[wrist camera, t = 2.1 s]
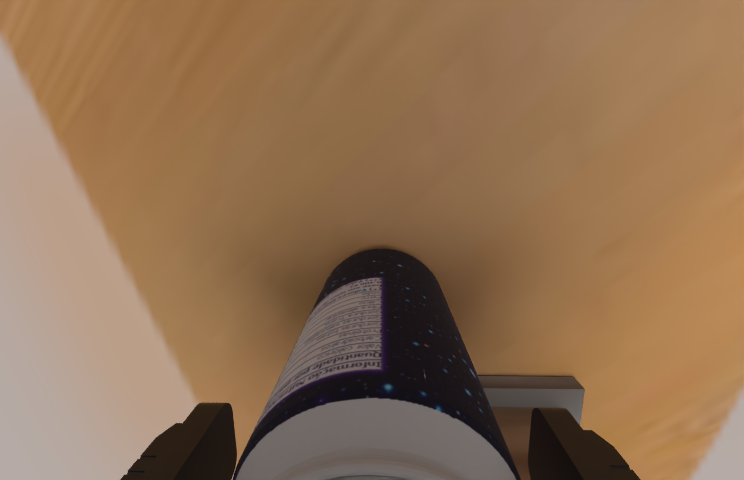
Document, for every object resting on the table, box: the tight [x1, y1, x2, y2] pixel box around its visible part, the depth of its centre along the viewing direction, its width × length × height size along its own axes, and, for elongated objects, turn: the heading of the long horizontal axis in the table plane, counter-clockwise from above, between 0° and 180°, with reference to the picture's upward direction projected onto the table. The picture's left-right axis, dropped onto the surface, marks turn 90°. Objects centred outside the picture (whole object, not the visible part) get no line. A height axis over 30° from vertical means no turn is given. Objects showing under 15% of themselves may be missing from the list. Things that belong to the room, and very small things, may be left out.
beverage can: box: [233, 249, 521, 480], centre depth 11 cm, size 6×6×12 cm
